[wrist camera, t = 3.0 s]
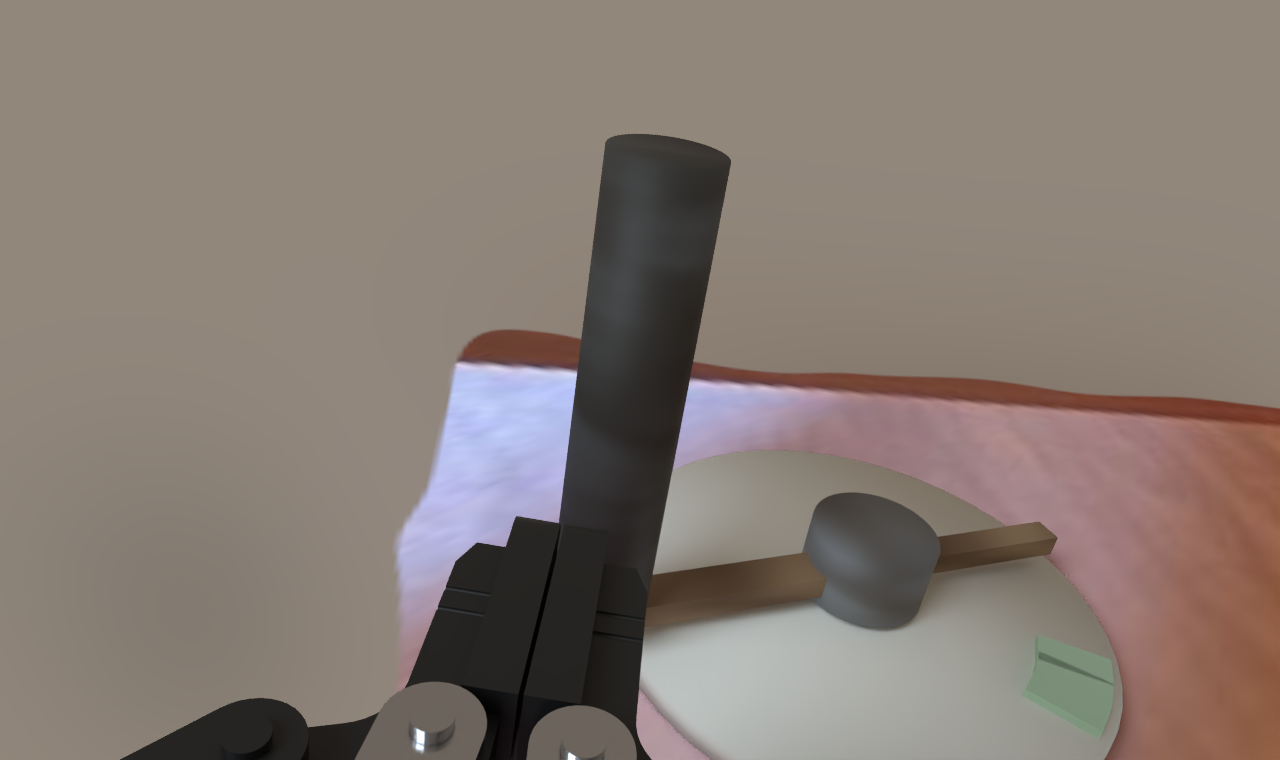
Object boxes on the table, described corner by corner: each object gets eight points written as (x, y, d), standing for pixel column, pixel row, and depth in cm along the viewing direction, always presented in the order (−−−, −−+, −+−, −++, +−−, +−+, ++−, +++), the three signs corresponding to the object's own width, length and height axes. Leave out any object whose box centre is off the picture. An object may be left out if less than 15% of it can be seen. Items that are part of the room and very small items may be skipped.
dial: (1000, 519, 37) (1150, 154, 30) (1079, 592, 34) (1270, 198, 27) (530, 587, 30) (580, 123, 23) (568, 689, 26) (642, 178, 19)
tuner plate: (792, 427, 44) (798, 404, 44) (1179, 643, 34) (1194, 617, 33) (499, 576, 32) (501, 547, 31) (964, 982, 22) (981, 952, 21)
